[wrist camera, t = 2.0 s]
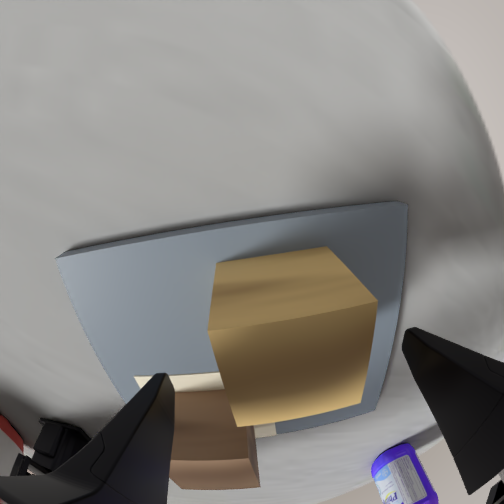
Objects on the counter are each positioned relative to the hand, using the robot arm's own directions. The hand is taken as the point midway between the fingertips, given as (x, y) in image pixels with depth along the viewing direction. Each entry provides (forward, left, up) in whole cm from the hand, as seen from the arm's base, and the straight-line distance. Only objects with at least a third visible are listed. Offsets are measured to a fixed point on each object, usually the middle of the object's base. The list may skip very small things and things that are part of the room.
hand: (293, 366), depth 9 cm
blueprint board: (-4, +2, -5) cm, 7 cm away
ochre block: (0, 0, -4) cm, 4 cm away
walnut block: (-8, +5, -4) cm, 10 cm away
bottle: (-28, -13, -6) cm, 31 cm away
